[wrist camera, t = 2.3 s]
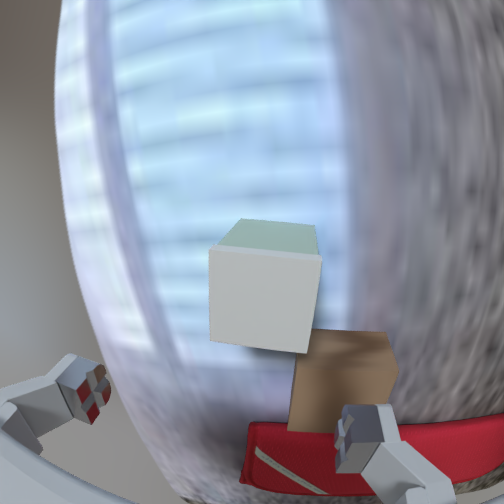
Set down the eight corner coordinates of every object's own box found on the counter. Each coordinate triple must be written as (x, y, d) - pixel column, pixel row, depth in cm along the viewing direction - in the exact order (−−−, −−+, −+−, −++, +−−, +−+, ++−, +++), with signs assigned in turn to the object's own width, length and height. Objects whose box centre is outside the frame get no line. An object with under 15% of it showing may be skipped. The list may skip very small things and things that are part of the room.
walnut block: (385, 331, 22) (399, 371, 17) (365, 392, 24) (372, 432, 19) (299, 326, 23) (296, 367, 18) (291, 389, 25) (286, 430, 20)
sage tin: (316, 223, 20) (322, 261, 13) (307, 293, 22) (306, 353, 15) (239, 216, 21) (208, 249, 14) (237, 285, 22) (210, 340, 16)
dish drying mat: (484, 465, 27) (489, 480, 24) (241, 471, 32) (236, 493, 29) (538, 400, 22) (548, 416, 18) (253, 403, 27) (246, 431, 23)
